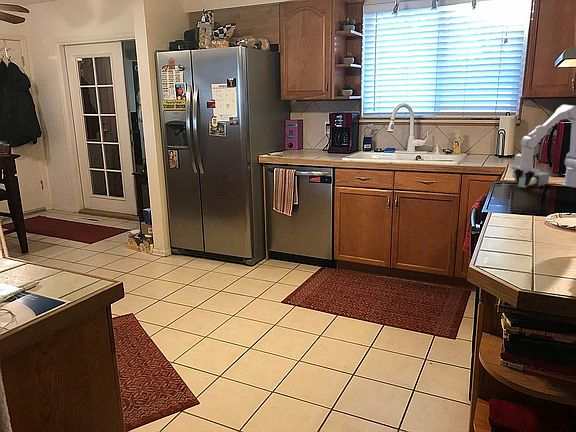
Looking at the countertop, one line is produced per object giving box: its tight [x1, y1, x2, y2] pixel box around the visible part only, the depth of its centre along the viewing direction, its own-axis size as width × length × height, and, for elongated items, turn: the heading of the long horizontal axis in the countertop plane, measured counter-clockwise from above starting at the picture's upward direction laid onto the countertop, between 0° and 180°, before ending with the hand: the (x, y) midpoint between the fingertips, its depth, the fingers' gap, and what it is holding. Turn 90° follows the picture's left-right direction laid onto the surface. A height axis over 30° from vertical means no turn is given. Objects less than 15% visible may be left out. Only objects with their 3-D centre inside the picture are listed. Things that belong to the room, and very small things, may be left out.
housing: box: [514, 171, 550, 187], centre depth 264 cm, size 9×14×6 cm, turn 32°
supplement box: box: [512, 153, 521, 178], centre depth 279 cm, size 7×7×13 cm
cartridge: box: [517, 177, 538, 189], centre depth 256 cm, size 12×4×5 cm, turn 122°
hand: (522, 184), depth 254 cm, fingers closed on cartridge, 4 cm apart
